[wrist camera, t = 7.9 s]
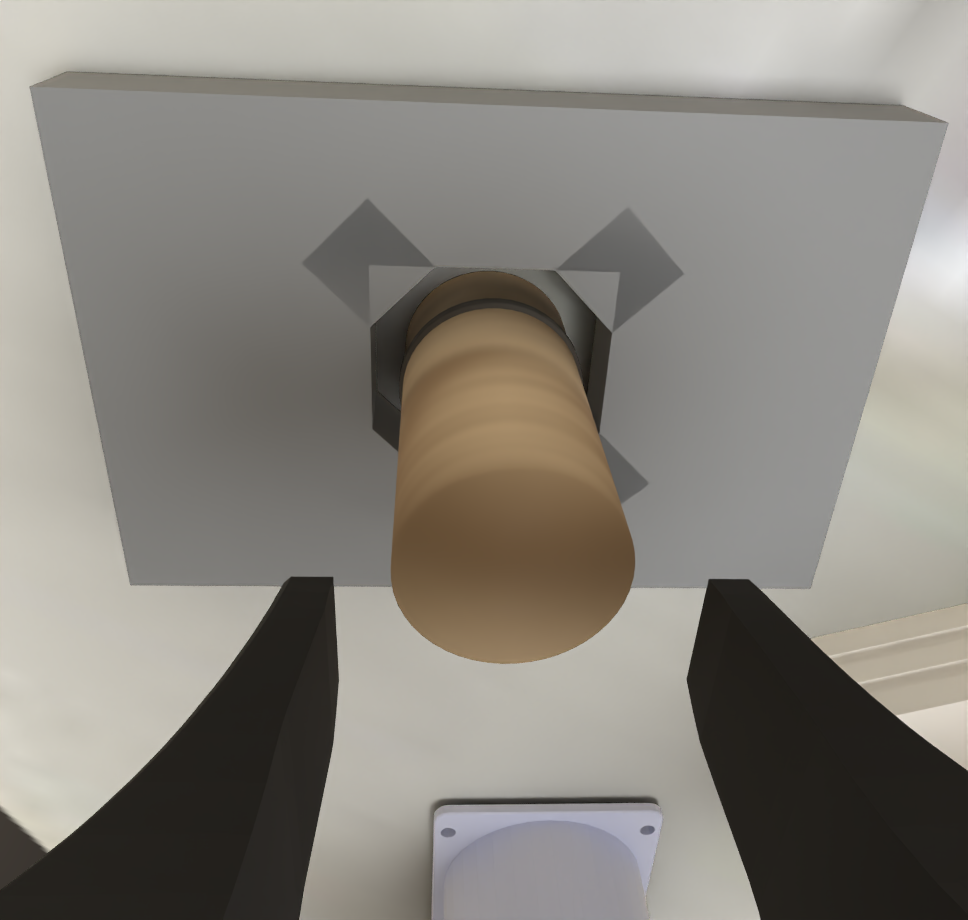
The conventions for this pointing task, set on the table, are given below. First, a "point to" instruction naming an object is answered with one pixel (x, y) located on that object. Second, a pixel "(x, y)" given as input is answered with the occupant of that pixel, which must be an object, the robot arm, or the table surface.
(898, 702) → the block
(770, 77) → the table surface
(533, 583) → the oak peg
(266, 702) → the robot arm
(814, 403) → the slate board
